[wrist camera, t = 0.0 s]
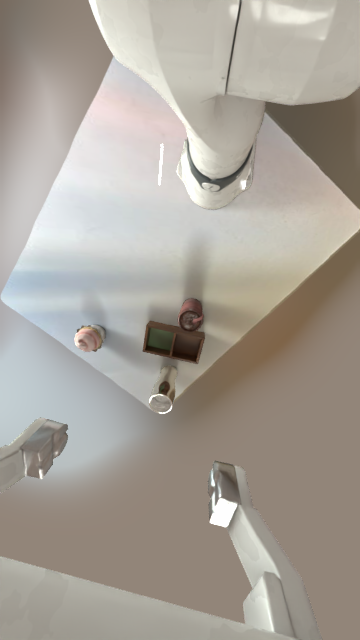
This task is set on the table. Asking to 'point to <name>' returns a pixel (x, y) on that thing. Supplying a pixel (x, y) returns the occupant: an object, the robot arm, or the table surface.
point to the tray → (173, 342)
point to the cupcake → (90, 338)
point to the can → (190, 315)
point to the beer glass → (164, 390)
